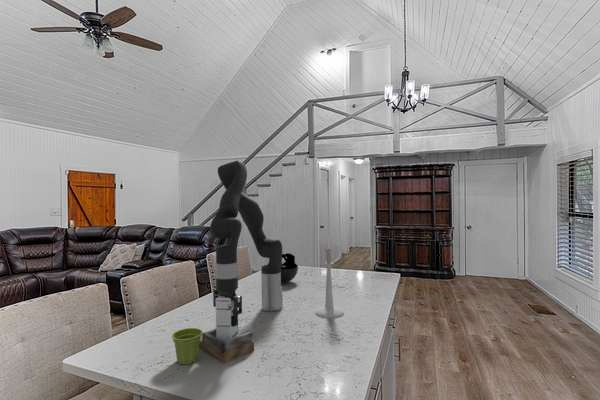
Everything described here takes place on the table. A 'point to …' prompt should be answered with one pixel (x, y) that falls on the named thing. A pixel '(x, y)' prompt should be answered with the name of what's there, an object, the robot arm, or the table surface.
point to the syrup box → (224, 319)
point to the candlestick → (329, 294)
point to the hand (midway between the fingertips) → (227, 322)
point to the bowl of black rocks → (288, 268)
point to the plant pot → (187, 344)
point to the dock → (226, 346)
